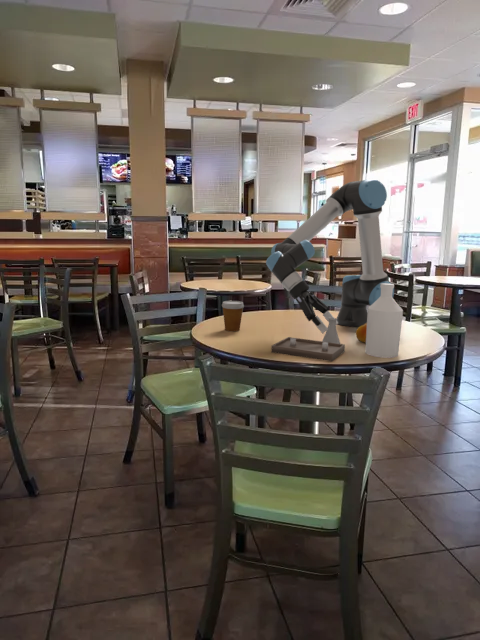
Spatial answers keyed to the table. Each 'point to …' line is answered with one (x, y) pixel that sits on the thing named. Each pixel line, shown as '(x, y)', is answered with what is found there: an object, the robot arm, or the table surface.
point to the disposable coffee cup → (232, 315)
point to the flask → (331, 332)
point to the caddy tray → (308, 348)
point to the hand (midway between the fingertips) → (330, 328)
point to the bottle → (384, 325)
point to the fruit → (361, 333)
